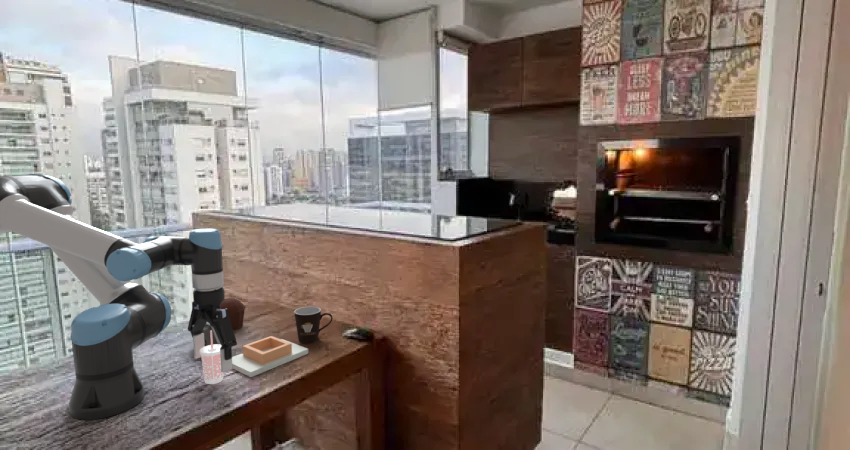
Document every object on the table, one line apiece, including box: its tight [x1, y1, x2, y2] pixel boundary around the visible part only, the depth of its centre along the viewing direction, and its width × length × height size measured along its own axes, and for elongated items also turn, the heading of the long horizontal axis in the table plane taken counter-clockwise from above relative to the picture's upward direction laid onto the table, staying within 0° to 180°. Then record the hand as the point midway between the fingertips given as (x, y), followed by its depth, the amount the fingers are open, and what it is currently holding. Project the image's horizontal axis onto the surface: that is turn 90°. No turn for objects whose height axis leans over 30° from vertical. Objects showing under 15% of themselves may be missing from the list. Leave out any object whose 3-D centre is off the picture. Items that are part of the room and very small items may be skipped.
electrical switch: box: [189, 322, 221, 346], centre depth 146 cm, size 9×5×9 cm, turn 57°
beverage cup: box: [200, 331, 224, 385], centre depth 125 cm, size 6×6×14 cm
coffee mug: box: [293, 306, 333, 344], centre depth 154 cm, size 12×9×10 cm
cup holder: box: [232, 335, 309, 378], centre depth 139 cm, size 20×13×4 cm, turn 144°
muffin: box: [220, 297, 247, 331], centre depth 165 cm, size 12×11×10 cm
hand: (212, 363), depth 125 cm, fingers open, 13 cm apart
